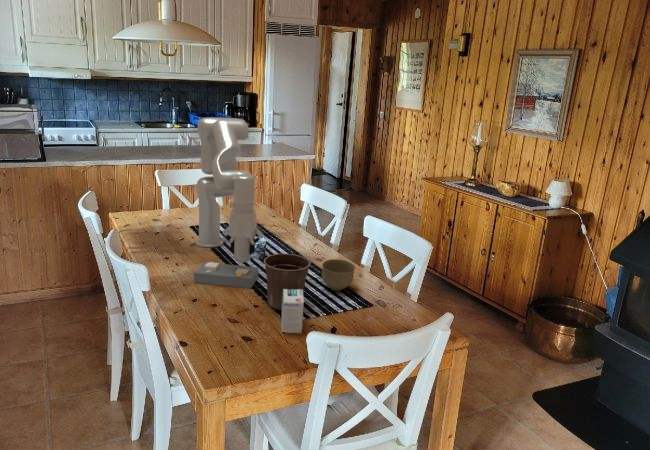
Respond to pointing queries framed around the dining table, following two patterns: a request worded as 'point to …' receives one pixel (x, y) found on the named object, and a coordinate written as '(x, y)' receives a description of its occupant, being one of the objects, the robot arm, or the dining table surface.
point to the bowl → (337, 273)
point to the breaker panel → (226, 276)
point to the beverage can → (242, 248)
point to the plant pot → (284, 276)
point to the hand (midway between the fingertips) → (242, 252)
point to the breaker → (212, 266)
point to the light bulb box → (292, 311)
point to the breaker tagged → (242, 271)
